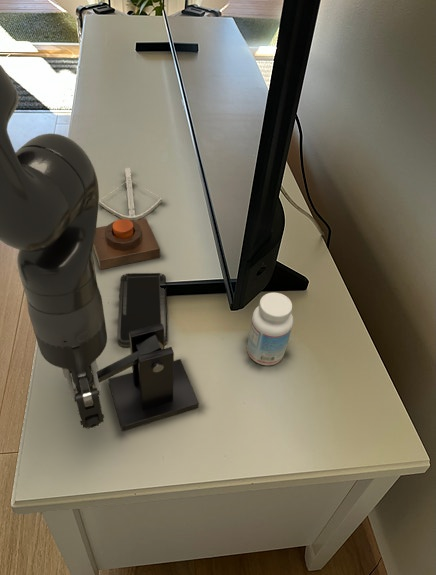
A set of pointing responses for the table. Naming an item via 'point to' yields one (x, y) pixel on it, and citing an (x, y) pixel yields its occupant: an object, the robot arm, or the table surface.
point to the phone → (141, 304)
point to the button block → (125, 245)
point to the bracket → (151, 384)
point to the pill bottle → (270, 329)
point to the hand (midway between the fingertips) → (85, 395)
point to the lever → (128, 360)
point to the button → (123, 228)
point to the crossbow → (130, 201)
